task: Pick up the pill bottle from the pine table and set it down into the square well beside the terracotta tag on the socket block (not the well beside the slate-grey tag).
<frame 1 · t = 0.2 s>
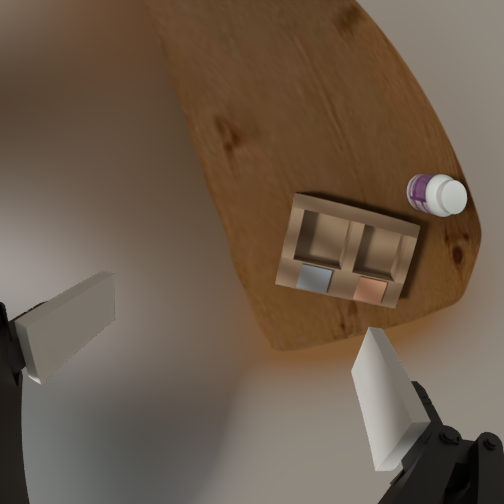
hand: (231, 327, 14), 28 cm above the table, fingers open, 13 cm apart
socket block: (346, 248, 40), on the table
pill bottle: (420, 192, 36), on the table
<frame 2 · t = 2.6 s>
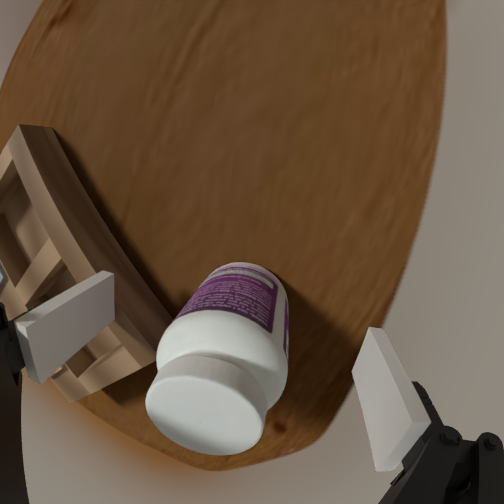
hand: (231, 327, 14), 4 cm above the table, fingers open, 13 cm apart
socket block: (60, 267, 19), on the table
pill bottle: (244, 302, 17), on the table
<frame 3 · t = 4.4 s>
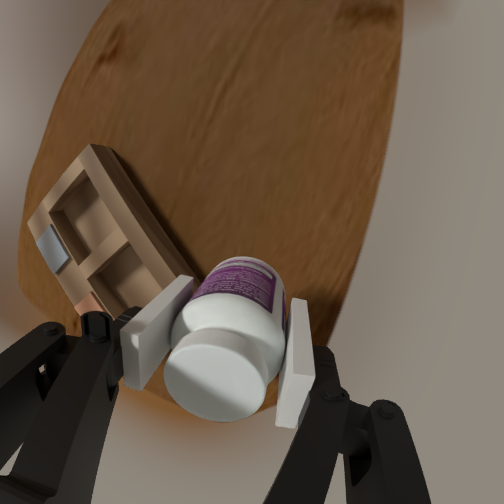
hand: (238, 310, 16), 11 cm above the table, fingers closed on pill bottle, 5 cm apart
socket block: (114, 251, 27), on the table
pill bottle: (245, 293, 19), point 7 cm above the table, touching gripper
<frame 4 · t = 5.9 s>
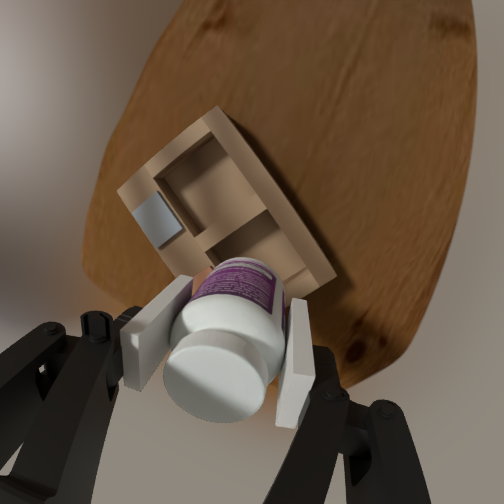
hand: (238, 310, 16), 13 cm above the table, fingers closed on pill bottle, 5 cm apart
socket block: (228, 224, 28), on the table
pill bottle: (245, 294, 19), point 9 cm above the table, touching gripper
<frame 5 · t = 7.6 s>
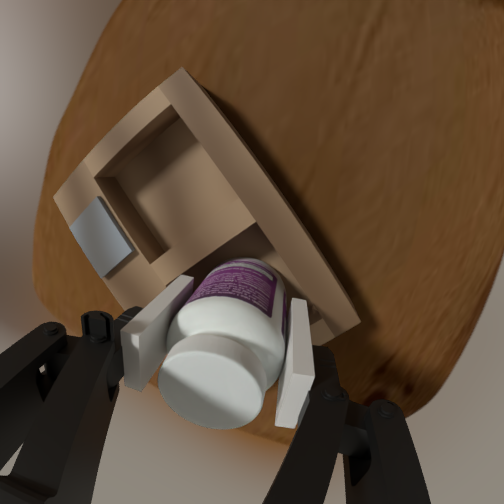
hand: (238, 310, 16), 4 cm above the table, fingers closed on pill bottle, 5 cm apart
socket block: (203, 241, 19), on the table
pill bottle: (246, 294, 19), point 1 cm above the table, touching gripper, socket block
when the fingers open (4 cm above the table, at t = 7.7 s): pill bottle stays where it is, resting on socket block.
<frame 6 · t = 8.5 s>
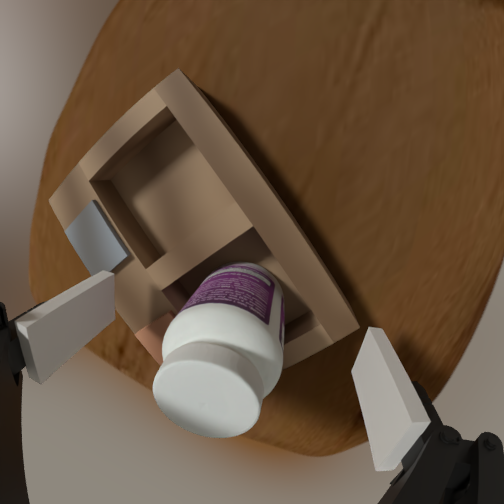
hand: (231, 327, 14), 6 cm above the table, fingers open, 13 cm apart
socket block: (199, 245, 19), on the table
pill bottle: (243, 299, 19), point 1 cm above the table, touching socket block
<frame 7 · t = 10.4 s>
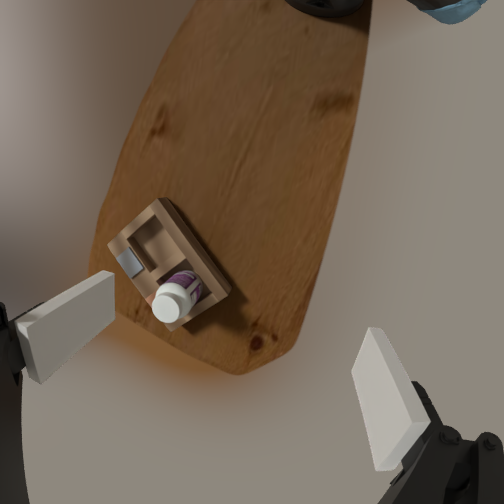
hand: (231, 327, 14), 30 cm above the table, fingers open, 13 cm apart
socket block: (171, 263, 46), on the table
pill bottle: (188, 285, 46), point 1 cm above the table, touching socket block
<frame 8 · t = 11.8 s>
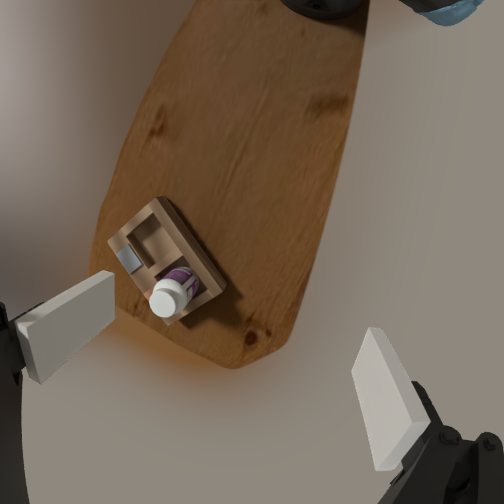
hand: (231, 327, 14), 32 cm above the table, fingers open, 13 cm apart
socket block: (168, 259, 48), on the table
pill bottle: (185, 281, 47), point 1 cm above the table, touching socket block
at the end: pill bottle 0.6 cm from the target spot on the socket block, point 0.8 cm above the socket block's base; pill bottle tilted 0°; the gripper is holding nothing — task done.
